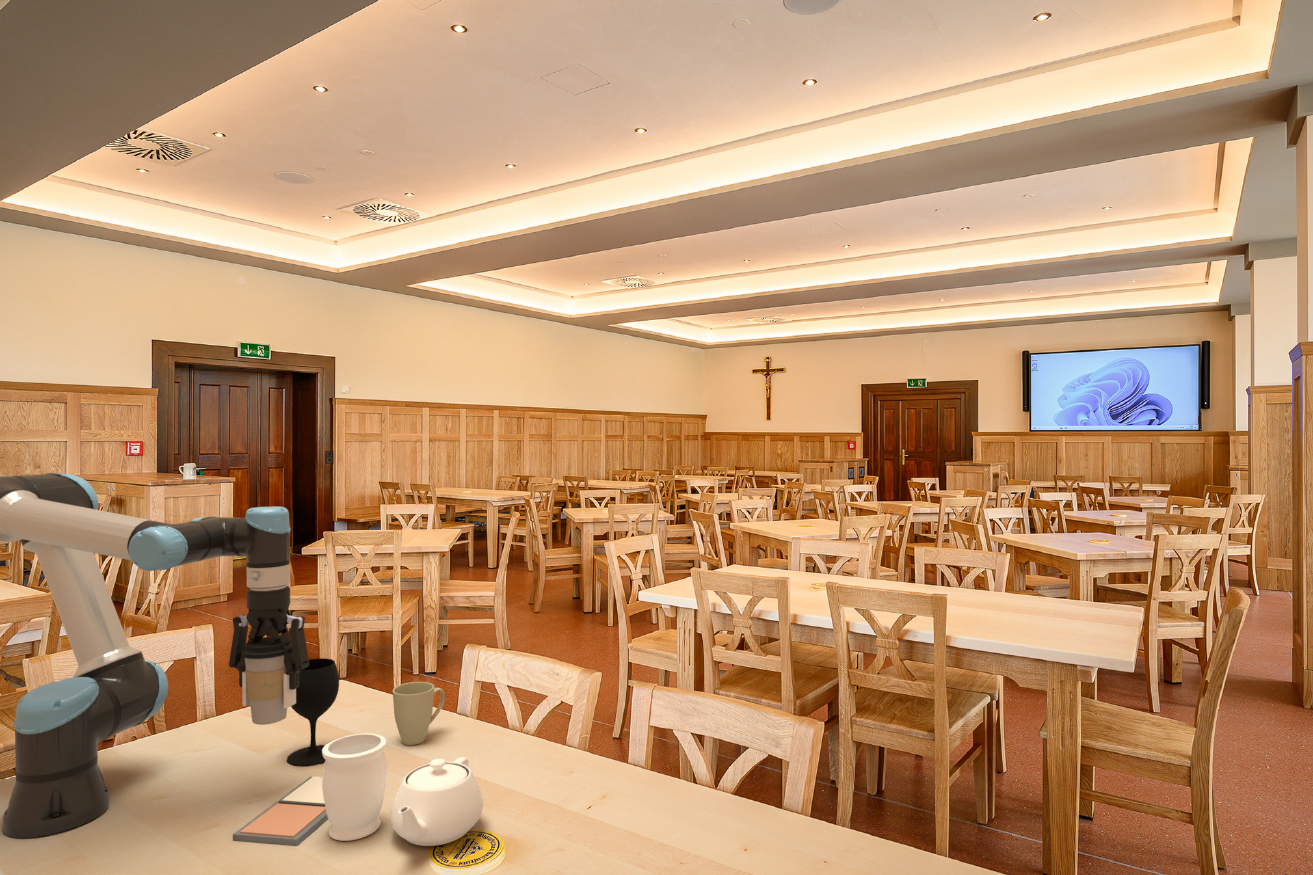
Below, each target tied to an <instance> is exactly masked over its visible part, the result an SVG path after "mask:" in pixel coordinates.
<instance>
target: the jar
mask: <svg viewBox="0 0 1313 875" xmlns="http://www.w3.org/2000/svg"><path fill="white" fill-rule="evenodd" d="M324 745H325V746H324V747H323V749H322V755H323V757H324V759H325V760H326V761H325V763H323V764H324V765H323V768H322V769H323V771H322V776H321V777H322V790H323V797H324V801H325V809H326V813H327V817H328V819H327V820H329V823H330V824H331V825H330V827H329V829H328V835H329V837H330V838H331V839H333V840H337V841H342V842H349V841H356V840H360V839H363V838H365V837H368V836H370V835H372V834H373V833H375V832H376V831H377V830H378V829H379V828H380V826H381V823H382V822H381V818H380V816H379V815H380V812H381V810H382V807H383V803H384V799H385V790H386V786H387V774H388V773H387V772H388V771H387V768H388V767H387V761H386V756H385V751H384V750H385V749H386V747H387V739H386V738H385V737H384V736H383V735H380V734H376V733H356V734H349V735H346V736H342V737H339V738H336V739H333V740H332V741H330V742H328V743H327V744H324Z"/></svg>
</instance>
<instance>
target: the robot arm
mask: <svg viewBox="0 0 1313 875" xmlns="http://www.w3.org/2000/svg"><path fill="white" fill-rule="evenodd" d="M99 507H100V506H99V499H98V495H97V493H96V491H95V489H94V488H93V486H92V485H91V484H90V483H89V482H88V481H87V480H85V479H84V478H82V477H80V476H77V475H75V474H71V473H70V474H69V473H58V472H49V473H48V472H47V473H44V474H43V473H41V474H28V475H27V474H26V475H2V476H0V541H1V542H6V543H14V542H19V541H20V543H21V545H22V549H23V550H25V551H28V552H32V553H33V554H35V555H36V557H37V560H38V563H39V565H40V567H41V571H42V572H43V576H44V578H45V581H46V584H47V586H48V590H49V592H50V594H51V598H52V599H53V602H54V605H55V607H56V609H57V612H58V615H59V618H60V621H61V623H62V626H63V630H65V634H66V638H67V639H68V642H69V645H70V647H71V650H72V652H73V654H74V658H75V660H76V662H77V669H76V670H75V673H74V675H73V676H72V677H69V678H63V679H61V680H59V681H52V682H48V683H46V684H43V685H41V686H38V687H35V688H34V689H32V690H31V691H29V692H26V694H24V695H23V696H22V697H21V699H19V701H18V702H17V705H16V708H15V709H16V710H15V719H14V722H13V727H14V736H15V738H14V742H15V743H14V744H15V745H14V746H15V747H14V748H15V784H14V787H13V788H12V793H11V795H10V798H9V803H8V807H7V809H6V810H5V811H4V814H3V816H2V833H3V834H4V835H5V836H7V837H10V838H16V839H17V838H18V839H28V838H29V839H30V838H38V837H44V836H49V835H54V834H58V833H59V834H60V833H62V832H66V831H69V830H72V829H74V828H78V827H79V826H83V825H85V824H87V823H89V822H91V821H93V820H94V819H96V818H98V817H100V816H101V815H103V813H105V812H106V811H107V810H108V809H109V807H110V791H109V788H108V787H107V785H106V783H105V779H104V777H103V774H102V772H101V770H100V767H99V764H98V763H99V762H98V759H99V757H98V756H99V755H98V754H99V753H98V752H99V749H98V748H99V747H98V746H99V743H100V742H102V741H104V740H108V739H109V738H111V737H113V736H115V735H117V734H119V733H122V732H124V731H127V730H128V729H130V728H133V727H136V726H138V725H141V724H142V723H144V722H146V720H148V719H150V718H151V717H153V716H155V714H157V713H158V712H159V711H160V710H161V709H162V708H163V706H164V703H165V701H166V699H167V697H168V691H169V681H168V677H167V674H166V672H165V670H164V669H163V667H161V665H159V664H156V662H154V661H153V660H152V661H150V660H146V659H145V658H144V655H143V652H142V650H140V649H137V648H135V647H132V646H130V644H129V642H128V639H127V636H126V632H125V631H124V629H123V625H122V624H121V620H120V617H119V615H118V612H117V611H116V610H117V609H116V607H115V605H114V603H113V600H112V597H111V595H110V592H109V589H108V586H107V584H106V582H105V579H104V576H103V574H102V571H101V569H100V566H99V563H98V561H97V558H96V555H95V554H97V555H101V556H102V555H103V556H108V557H113V558H119V559H123V560H128V561H131V563H132V564H134V565H135V566H136V567H138V569H140V570H142V571H147V572H152V571H153V572H155V571H166V570H170V569H173V568H175V567H180V566H183V565H187V564H191V563H196V562H201V561H207V560H210V559H214V558H215V559H216V558H219V557H245V560H246V587H247V588H248V589H247V590H246V608H247V610H248V612H247V614H243V613H242V614H241V615H237V616H235V617H233V618H232V624H233V635H232V641H231V647H230V652H229V662H228V667H229V668H234V669H237V671H238V682H239V683H238V686H239V688H241V690H242V693H241V694H242V695H241V696H242V697H241V699H242V705H241V706H242V707H247V706H250V699H249V697H248V690H247V681H246V673H245V668H246V665H245V658H243V657H242V656H241V654H242V650H243V649H244V648H245V645H246V643H251V644H253V643H256V642H258V641H261V640H262V638H264V637H272V639H273V641H275V642H276V644H277V645H278V644H283V650H286V649H288V648H291V647H293V652H292V653H289V654H288V653H287V652H286V655H284V664H285V667H286V669H287V672H286V673H285V674H283V681H284V708H287V709H289V708H290V707H291V706H292V705H294V704H296V688H298V687H299V672H300V670H302V669H304V668H306V667H308V666H309V653H308V647H307V641H306V636H305V635H306V634H305V630H304V629H305V621H306V618H305V617H304V615H301V616H298V617H297V616H294V615H292V614H291V612H290V609H289V608H290V605H291V587H290V586H289V584H290V583H291V562H290V561H291V560H290V559H291V558H290V549H291V548H290V545H291V542H290V539H291V538H290V537H291V531H292V529H291V526H290V512H289V510H288V509H287V508H286V507H284V506H258V507H250V508H249V509H247V510H246V513H245V517H225V516H223V517H221V516H218V517H217V516H205V517H197V518H196V517H195V518H193V519H191V520H190V521H186V522H180V523H167V522H163V521H158V520H151V519H146V518H141V517H136V516H132V515H126V514H121V513H115V512H111V511H110V512H109V511H105V510H100V509H98V508H99ZM249 626H250V627H251V628H250V631H249V633H248V630H249ZM287 626H288V627H287ZM289 629H290V630H289ZM290 638H291V640H292V643H291V640H290ZM247 639H248V640H247ZM288 641H290V644H289V645H287V646H286V645H284V643H286V642H288Z"/></svg>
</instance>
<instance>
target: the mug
mask: <svg viewBox="0 0 1313 875" xmlns="http://www.w3.org/2000/svg"><path fill="white" fill-rule="evenodd" d="M437 692H439V693H440V700H439V704H438V706H437V707H436V709H435V711H433V710H434V709H433V707H434V696H435V694H436V693H437ZM392 699H393V700H392V702H393V713H394V722H395V724H396V728H397V730H398V734H399V737H400V739H401V743H402V744H404V745H405V746H416V745H420V744H422V743H424V742H425V740H426V736H427V733H428V730H429V727H430V725H431V724H432V723H433V721H434V720H435V719H436V718H437V716H439V713H440V712H441V710H442V709H443V707H444V704H445V699H446V695H445V691H444V690H443V689H442V688H440V687H435V685H434V684H433V683H431V682H427V681H411V682H406V683H405V682H404V683H401V684H399V685H396V686H395V687H394V688H393V689H392Z"/></svg>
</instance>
